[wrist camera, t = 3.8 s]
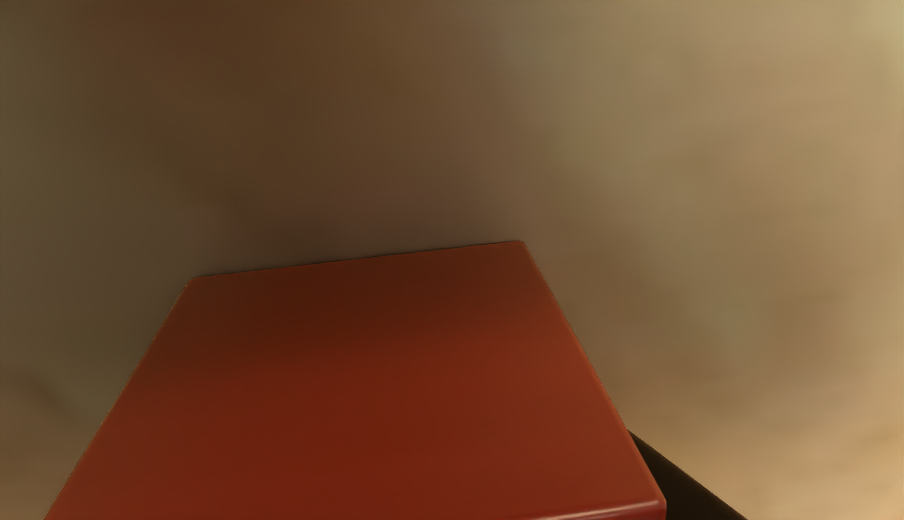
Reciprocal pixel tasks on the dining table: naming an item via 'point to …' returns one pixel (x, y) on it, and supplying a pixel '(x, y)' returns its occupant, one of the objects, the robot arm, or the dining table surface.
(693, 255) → the dining table surface
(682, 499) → the robot arm
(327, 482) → the block
